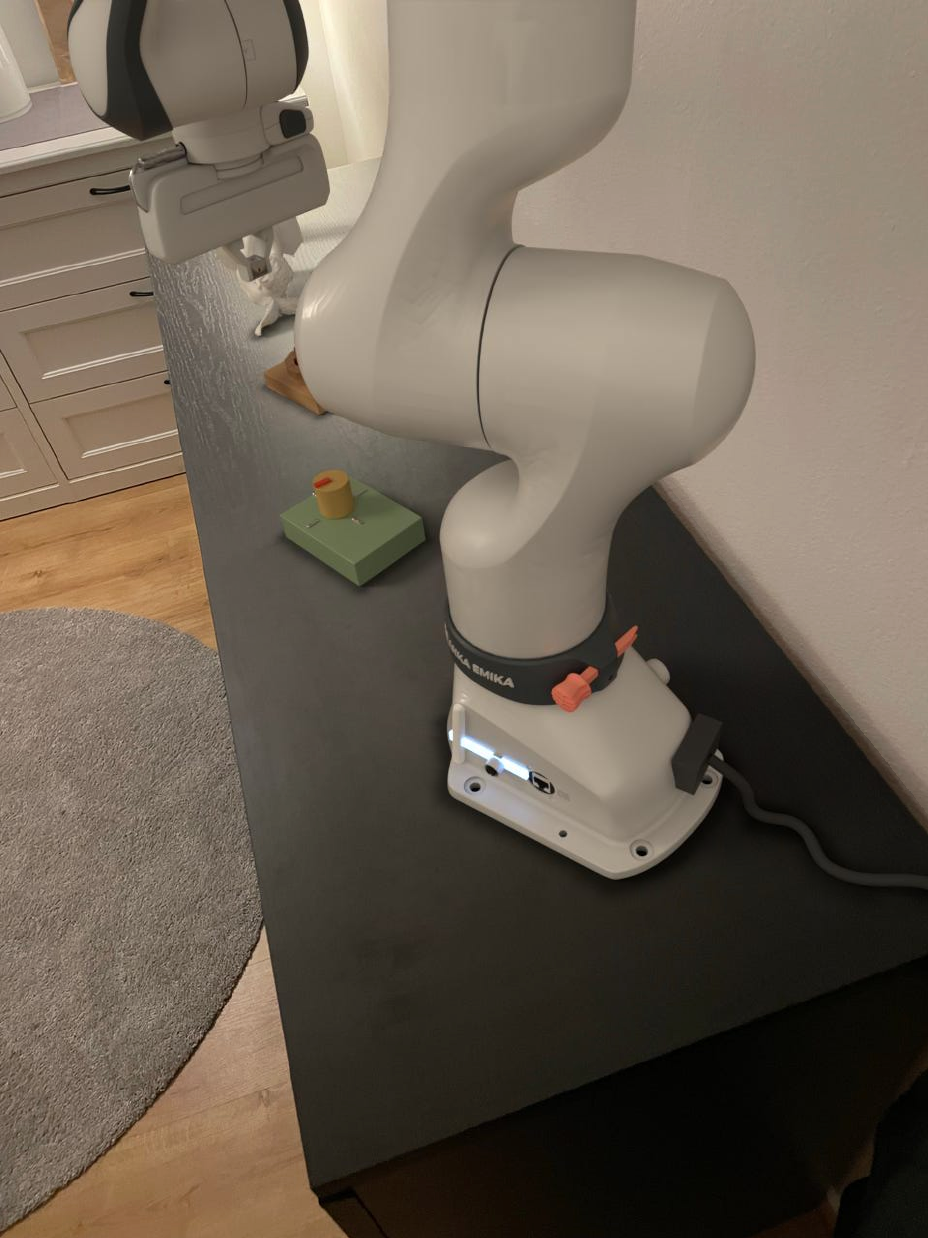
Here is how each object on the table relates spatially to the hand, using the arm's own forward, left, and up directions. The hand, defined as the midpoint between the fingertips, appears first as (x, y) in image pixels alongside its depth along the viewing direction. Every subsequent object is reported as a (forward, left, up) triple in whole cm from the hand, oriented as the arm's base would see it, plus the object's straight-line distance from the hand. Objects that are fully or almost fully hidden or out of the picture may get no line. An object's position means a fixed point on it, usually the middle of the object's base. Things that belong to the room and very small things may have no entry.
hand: (256, 276), depth 92 cm
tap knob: (-18, +8, -17) cm, 26 cm away
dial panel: (-20, +8, -20) cm, 29 cm away
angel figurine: (+31, -20, -20) cm, 42 cm away
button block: (+7, -9, -20) cm, 23 cm away
